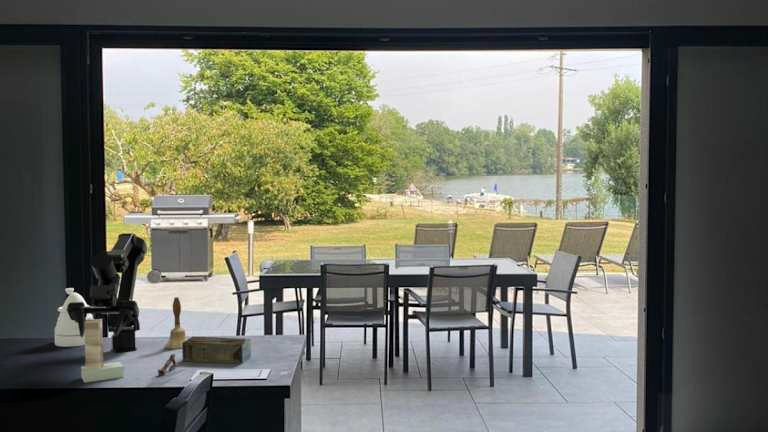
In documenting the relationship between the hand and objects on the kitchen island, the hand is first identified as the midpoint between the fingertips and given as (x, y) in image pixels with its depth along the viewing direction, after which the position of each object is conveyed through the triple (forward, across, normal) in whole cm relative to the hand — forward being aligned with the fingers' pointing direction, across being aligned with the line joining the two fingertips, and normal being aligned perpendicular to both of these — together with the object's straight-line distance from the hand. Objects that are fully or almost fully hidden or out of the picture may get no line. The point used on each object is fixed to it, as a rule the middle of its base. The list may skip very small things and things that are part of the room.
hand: (98, 335), depth 195 cm
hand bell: (-13, +16, +30) cm, 36 cm away
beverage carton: (0, +31, +16) cm, 35 cm away
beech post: (+9, 0, +2) cm, 9 cm away
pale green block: (+10, +2, +5) cm, 12 cm away
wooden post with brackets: (+8, +18, +7) cm, 22 cm away
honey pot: (-21, -19, +38) cm, 47 cm away
